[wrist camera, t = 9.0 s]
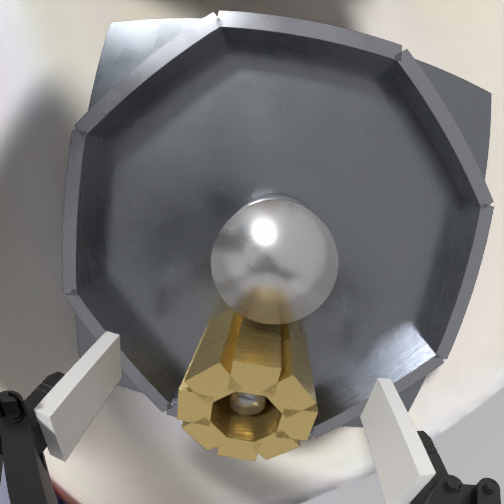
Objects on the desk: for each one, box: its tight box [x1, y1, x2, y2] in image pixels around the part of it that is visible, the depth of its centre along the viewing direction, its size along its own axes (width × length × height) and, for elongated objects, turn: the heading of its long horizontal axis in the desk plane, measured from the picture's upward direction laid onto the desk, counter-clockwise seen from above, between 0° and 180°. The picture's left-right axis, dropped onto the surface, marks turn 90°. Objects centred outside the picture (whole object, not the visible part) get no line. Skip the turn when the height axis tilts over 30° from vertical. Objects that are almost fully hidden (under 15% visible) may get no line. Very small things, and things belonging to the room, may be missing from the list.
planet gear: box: [177, 308, 318, 461], centre depth 15 cm, size 6×6×6 cm
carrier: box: [62, 11, 494, 439], centre depth 15 cm, size 24×24×6 cm
